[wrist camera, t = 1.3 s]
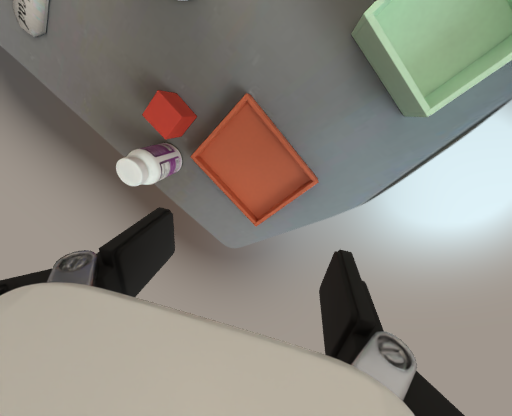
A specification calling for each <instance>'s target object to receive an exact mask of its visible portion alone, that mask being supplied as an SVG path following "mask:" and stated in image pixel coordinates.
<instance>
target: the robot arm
mask: <svg viewBox="0 0 512 416" xmlns="http://www.w3.org/2000/svg"><path fill="white" fill-rule="evenodd" d="M178 1H188V0H178ZM174 243H175V242H174V225H173V214H172V213H171V211H170V210H169V209H164V208H157V209H156V210H154V211H153V212H151V213H150V214H148V215H147V216H146V217H144V218H143V219H141V220H140V221H138V222H137V223H136V224H134V225H133V226H131V227H130V228H128V229H127V230H125V231H124V232H122V233H121V234H119V235H118V236H116V237H115V238H113V239H112V240H111V241H109V242H108V243H106V244H105V245H103V246H102V247H100V248H99V251H100V252H98V253H97V254H95V253H94V252H92V251H86V250H84V251H78V252H73V253H71V254H67V255H65V256H64V257H62V258H60V259H59V260H58V261H57V262H56V263H55V264H54V266H53V269H48V270H45V271H40V272H36V273H31V274H27V275H23V276H18V277H14V278H9V279H5V280H0V416H464V415H463V414H462V413H461V412H460V411H459V410H458V409H457V408H456V407H455V406H454V405H453V404H451V403H450V402H449V401H448V400H447V399H446V398H445V397H444V396H443V395H442V394H441V393H440V392H439V391H437V390H436V389H435V388H434V387H433V386H432V385H431V384H430V383H429V382H428V381H427V380H426V379H425V378H423V377H422V376H421V375H420V374H419V373H418V372H417V371H416V368H417V363H416V359H415V357H414V355H413V353H412V352H411V350H410V349H409V348H408V346H407V345H406V344H405V343H404V342H402V340H400V339H399V338H397V337H396V336H394V335H393V334H390V333H388V332H384V331H383V328H382V325H381V323H380V320H379V317H378V315H377V312H376V309H375V307H374V304H373V302H372V299H371V296H370V293H369V291H368V288H367V285H366V283H365V282H364V281H362V280H361V278H360V275H359V272H358V269H357V266H356V264H355V261H354V258H353V255H352V253H351V252H348V251H343V250H339V251H338V252H335V253H334V254H333V257H332V260H331V262H330V264H329V267H328V269H327V271H326V274H325V276H324V279H323V281H322V283H321V286H320V290H319V294H320V304H321V314H322V324H323V334H324V344H325V353H326V354H325V355H324V354H321V353H319V352H316V351H312V350H309V349H306V348H303V347H300V346H297V345H293V344H291V343H287V342H284V341H281V340H278V339H274V338H271V337H267V336H264V335H261V334H257V333H254V332H251V331H248V330H244V329H241V328H238V327H234V326H231V325H228V324H224V323H221V322H217V321H214V320H210V319H207V318H203V317H201V316H197V315H194V314H190V313H187V312H184V311H180V310H177V309H173V308H170V307H166V306H163V305H159V304H156V303H153V302H149V301H146V300H142V299H139V298H135V297H136V295H137V294H138V293H139V292H140V291H141V290H142V289H143V288H144V286H145V285H146V284H147V283H148V282H149V281H150V280H151V278H152V277H153V276H154V275H155V274H156V273H157V272H158V271H159V270H160V268H161V267H162V266H163V265H164V264H165V263H166V262H167V261H168V259H169V258H170V257H171V256H172V255H173V253H174V251H175V244H174Z"/></svg>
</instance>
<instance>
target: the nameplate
mask: <svg viewBox="0 0 512 416" xmlns="http://www.w3.org/2000/svg"><path fill="white" fill-rule="evenodd" d="M48 4H49V0H13V10H14V13H15V15H16V18H17V20H18V23H19V25H20V27H22V28H23V29H24V30H26V31H27V32H28V33H29V34H31V35H32V36H34V37H36V36H39V35H42V34H44V33H46V25H47V14H48Z"/></svg>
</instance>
